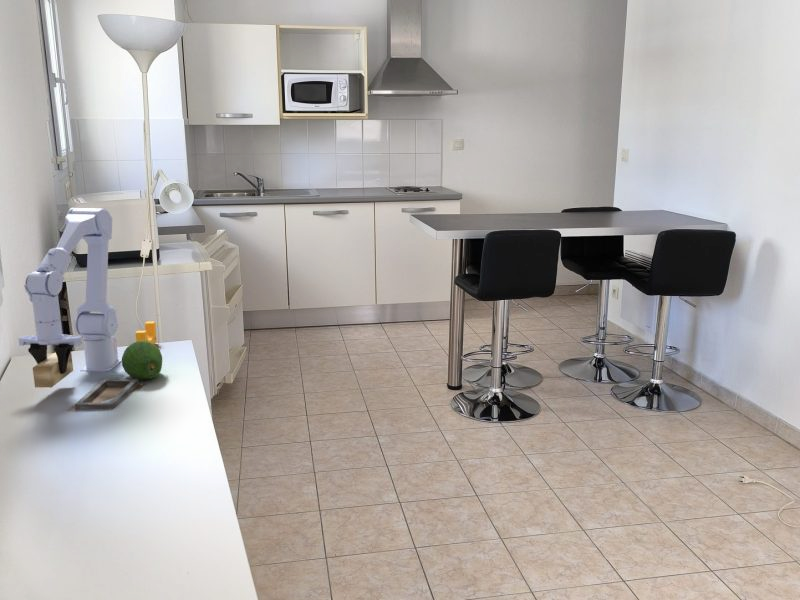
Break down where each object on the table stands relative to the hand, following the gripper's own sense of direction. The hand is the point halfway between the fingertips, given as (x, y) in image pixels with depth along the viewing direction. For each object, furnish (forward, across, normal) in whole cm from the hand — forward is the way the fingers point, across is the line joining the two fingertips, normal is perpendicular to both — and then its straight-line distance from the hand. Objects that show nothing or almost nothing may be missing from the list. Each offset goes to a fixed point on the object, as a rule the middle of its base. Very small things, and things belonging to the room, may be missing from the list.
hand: (54, 372), depth 179 cm
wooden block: (+2, 0, 0) cm, 2 cm away
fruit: (+6, +19, +10) cm, 22 cm away
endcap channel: (+5, +15, -5) cm, 17 cm away
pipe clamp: (+6, +9, +38) cm, 39 cm away
